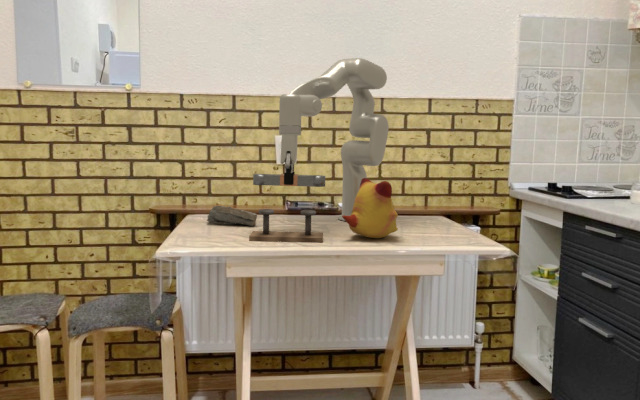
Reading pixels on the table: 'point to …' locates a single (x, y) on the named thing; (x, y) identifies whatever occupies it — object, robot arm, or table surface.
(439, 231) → the table surface
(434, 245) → the table surface
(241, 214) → the rock
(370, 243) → the table surface
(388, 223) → the toy
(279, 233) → the rack
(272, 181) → the two-ball handle bar
